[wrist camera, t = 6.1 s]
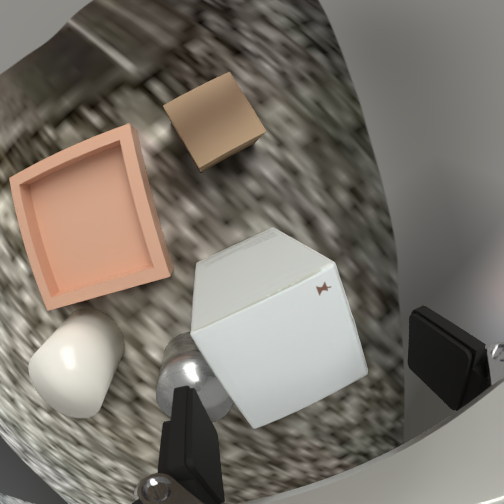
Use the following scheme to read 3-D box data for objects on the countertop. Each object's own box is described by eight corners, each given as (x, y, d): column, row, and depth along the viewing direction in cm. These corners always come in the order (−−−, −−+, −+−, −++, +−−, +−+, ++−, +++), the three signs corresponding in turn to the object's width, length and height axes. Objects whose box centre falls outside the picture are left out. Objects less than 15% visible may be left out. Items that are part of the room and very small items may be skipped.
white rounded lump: (134, 361, 25) (116, 415, 17) (82, 370, 25) (55, 419, 17) (108, 301, 24) (75, 343, 16) (55, 315, 23) (15, 355, 15)
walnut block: (254, 143, 23) (266, 131, 18) (200, 173, 23) (199, 167, 18) (224, 94, 22) (229, 72, 17) (171, 122, 22) (163, 105, 17)
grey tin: (234, 375, 27) (242, 415, 21) (177, 389, 26) (173, 430, 21) (216, 324, 26) (220, 360, 20) (154, 340, 25) (143, 377, 19)
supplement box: (193, 261, 24) (183, 330, 12) (274, 225, 25) (340, 257, 12) (229, 333, 26) (251, 433, 14) (304, 299, 26) (373, 375, 14)
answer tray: (173, 268, 24) (170, 276, 22) (59, 300, 23) (47, 310, 20) (136, 130, 21) (129, 123, 19) (23, 178, 20) (9, 178, 18)
